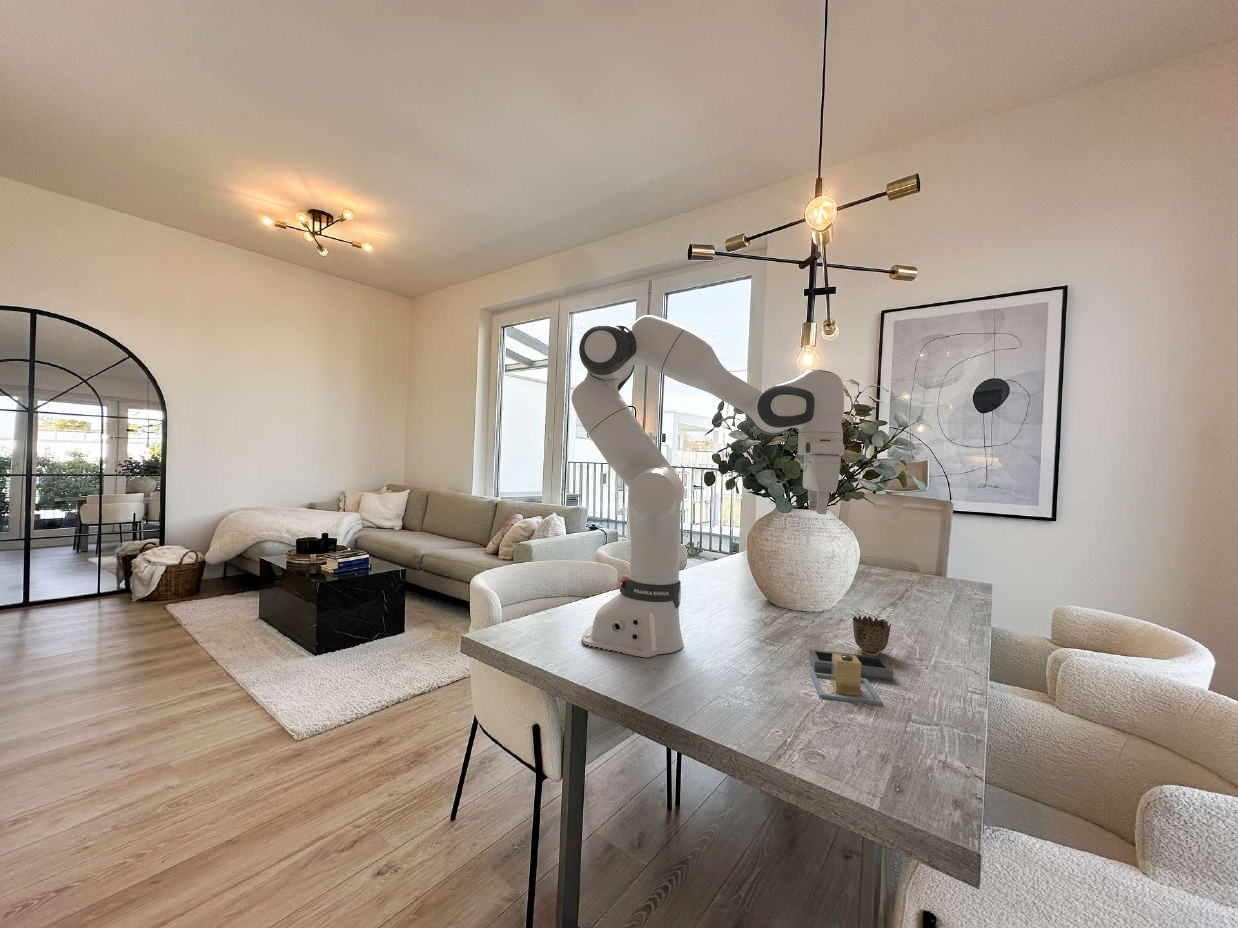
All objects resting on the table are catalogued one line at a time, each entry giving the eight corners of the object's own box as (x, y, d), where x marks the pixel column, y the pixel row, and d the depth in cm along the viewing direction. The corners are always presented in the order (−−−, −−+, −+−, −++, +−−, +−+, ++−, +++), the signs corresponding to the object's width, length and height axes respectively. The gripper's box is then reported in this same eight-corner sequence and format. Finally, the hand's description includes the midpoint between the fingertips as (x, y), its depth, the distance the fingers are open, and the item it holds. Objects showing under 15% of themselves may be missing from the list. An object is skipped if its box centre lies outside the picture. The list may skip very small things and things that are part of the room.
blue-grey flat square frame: (819, 703, 87) (819, 694, 87) (809, 679, 97) (810, 671, 97) (882, 711, 85) (882, 702, 85) (866, 686, 95) (866, 678, 95)
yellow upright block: (835, 694, 90) (837, 659, 90) (830, 685, 94) (832, 651, 94) (859, 698, 89) (861, 661, 89) (854, 688, 93) (855, 653, 93)
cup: (894, 665, 106) (895, 627, 106) (856, 661, 108) (857, 623, 108) (883, 652, 114) (884, 617, 114) (847, 649, 115) (849, 613, 115)
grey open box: (814, 677, 98) (814, 661, 98) (808, 663, 105) (808, 649, 105) (892, 686, 96) (893, 670, 96) (881, 672, 102) (882, 657, 102)
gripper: (797, 448, 119) (795, 507, 119) (812, 444, 99) (809, 515, 99) (826, 449, 118) (823, 509, 118) (846, 445, 98) (843, 517, 98)
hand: (817, 512), depth 109 cm, fingers open, 8 cm apart
